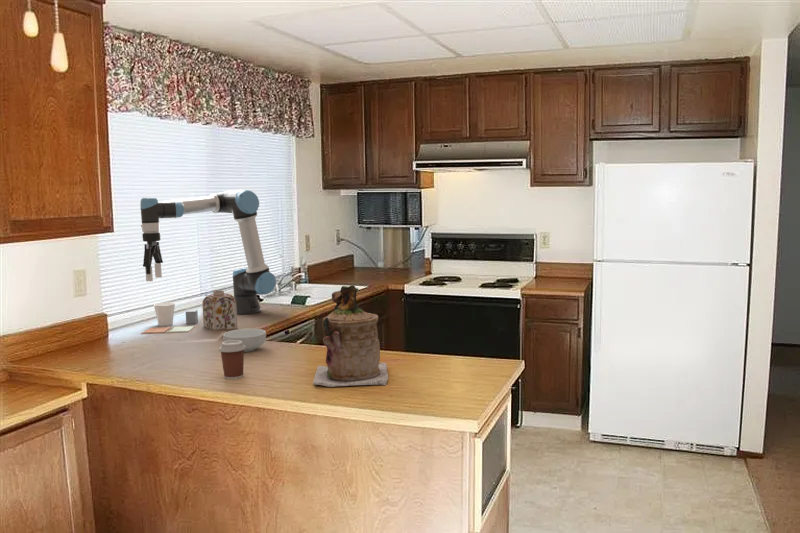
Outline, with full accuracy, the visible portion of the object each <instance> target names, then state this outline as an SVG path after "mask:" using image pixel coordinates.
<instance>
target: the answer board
mask: <svg viewBox="0 0 800 533" xmlns="http://www.w3.org/2000/svg"><path fill="white" fill-rule="evenodd" d="M194 326H195V325H194ZM170 327H171V326H170ZM174 327H175V326H172V327H171V328H170V329H168V330H167V331H166V332H164V333H144V332H145V331H147V330H148V329H150V328H151V327H149V328H147V329H146V330H144V331H143V332H141V333H140V335H157V334H187V333H192V332H193V331H194V330H195V329H197V328H198V326H195V327H194V328H193V329H192V330H191V331H189V332H170V333H168V332H169V331H170V330H171V329H173V328H174Z"/></svg>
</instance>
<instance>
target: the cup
mask: <svg viewBox="0 0 800 533" xmlns="http://www.w3.org/2000/svg"><path fill="white" fill-rule="evenodd" d="M153 307H154V312H155V315H156V319H157V320H156V321H157V324H158V326H159V327H160V326H161V327H166V326H167V327H168V326H171V325H173V324H174V317H175V315H174V314H175V307H176V302H172V301H171V302H170V301H169V302H158V303H154V304H153Z"/></svg>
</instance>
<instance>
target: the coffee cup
mask: <svg viewBox="0 0 800 533" xmlns="http://www.w3.org/2000/svg"><path fill="white" fill-rule="evenodd" d="M245 349H246V346H245V345H244V344H243V343H242V341H240V340H230V341H225V342H224V341H222V342H221V344H220V347H218V352H220V354H221V361H222V362H221V363H222V369H223V377H224V379H227V380H236V379H241V378H243V377H244V362H245V361H244V360H245V359H244V358H245V352H244V350H245Z"/></svg>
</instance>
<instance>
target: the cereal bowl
mask: <svg viewBox="0 0 800 533" xmlns="http://www.w3.org/2000/svg"><path fill="white" fill-rule="evenodd" d="M222 337H223V342H225V341H230V340H240V341H242V343H243V344H244V345H245V346H246V349H245V350H244V353H247V352H248V353H249V352H253V351H255V350H256V349H257V348H259V347H261V346H262V345H263V344H264V343H265V342H266V339H267V332H266V330H265V329H261V328H249V327H248V328H237V329H232V330H227V331H226V332H225V331H224V333H223V336H222Z"/></svg>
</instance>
